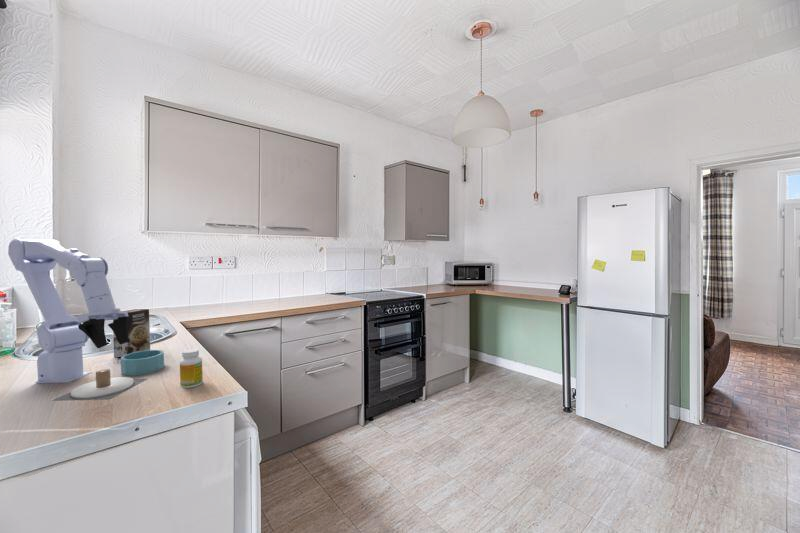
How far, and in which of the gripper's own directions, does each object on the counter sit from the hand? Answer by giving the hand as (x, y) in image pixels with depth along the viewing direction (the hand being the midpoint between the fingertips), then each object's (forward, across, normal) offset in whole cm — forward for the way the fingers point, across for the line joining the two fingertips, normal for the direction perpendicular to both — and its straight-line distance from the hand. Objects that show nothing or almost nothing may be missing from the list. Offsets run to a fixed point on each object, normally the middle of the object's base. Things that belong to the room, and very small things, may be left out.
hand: (113, 345), depth 96 cm
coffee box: (0, +33, +20) cm, 38 cm away
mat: (+11, 0, +6) cm, 12 cm away
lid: (+10, 0, +6) cm, 12 cm away
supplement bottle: (+18, +3, -15) cm, 24 cm away
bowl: (+8, +15, +5) cm, 18 cm away
